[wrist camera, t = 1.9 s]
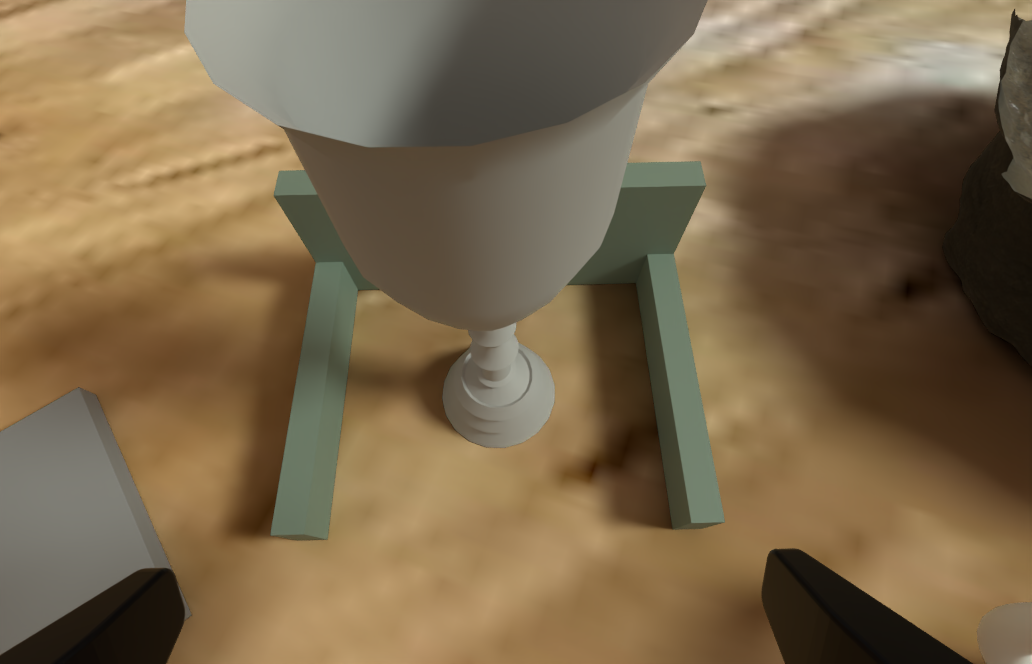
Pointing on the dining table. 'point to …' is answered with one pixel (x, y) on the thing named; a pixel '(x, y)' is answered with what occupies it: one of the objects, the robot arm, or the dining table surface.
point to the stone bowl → (1001, 207)
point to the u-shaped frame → (620, 259)
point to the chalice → (457, 152)
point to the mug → (1006, 634)
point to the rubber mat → (66, 516)
